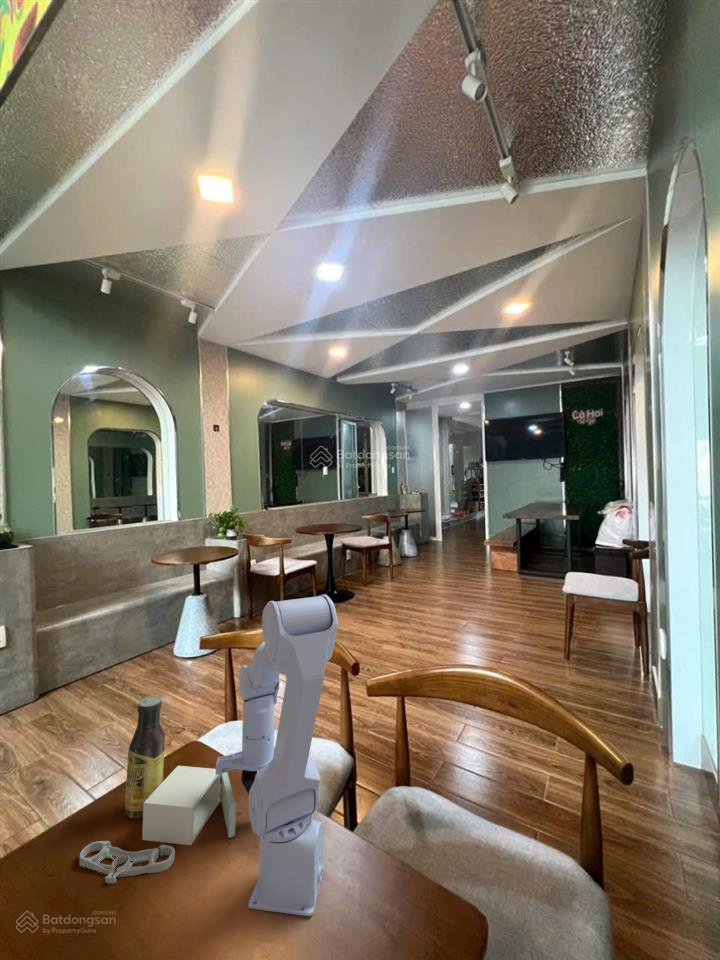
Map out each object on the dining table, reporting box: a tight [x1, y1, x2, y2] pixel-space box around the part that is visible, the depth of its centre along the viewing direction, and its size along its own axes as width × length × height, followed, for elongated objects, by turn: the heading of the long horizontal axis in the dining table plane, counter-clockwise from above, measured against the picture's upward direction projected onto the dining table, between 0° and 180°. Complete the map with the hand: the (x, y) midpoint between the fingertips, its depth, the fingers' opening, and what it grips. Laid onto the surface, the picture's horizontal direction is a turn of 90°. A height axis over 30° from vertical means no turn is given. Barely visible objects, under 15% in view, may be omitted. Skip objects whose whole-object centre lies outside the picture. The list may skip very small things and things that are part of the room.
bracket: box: [79, 840, 176, 885], centre depth 63 cm, size 8×2×15 cm
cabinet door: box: [220, 771, 236, 838], centre depth 72 cm, size 1×10×5 cm, turn 27°
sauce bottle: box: [124, 696, 166, 820], centre depth 75 cm, size 7×6×20 cm
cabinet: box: [141, 765, 221, 846], centre depth 71 cm, size 9×10×6 cm
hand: (257, 809), depth 71 cm, fingers closed
